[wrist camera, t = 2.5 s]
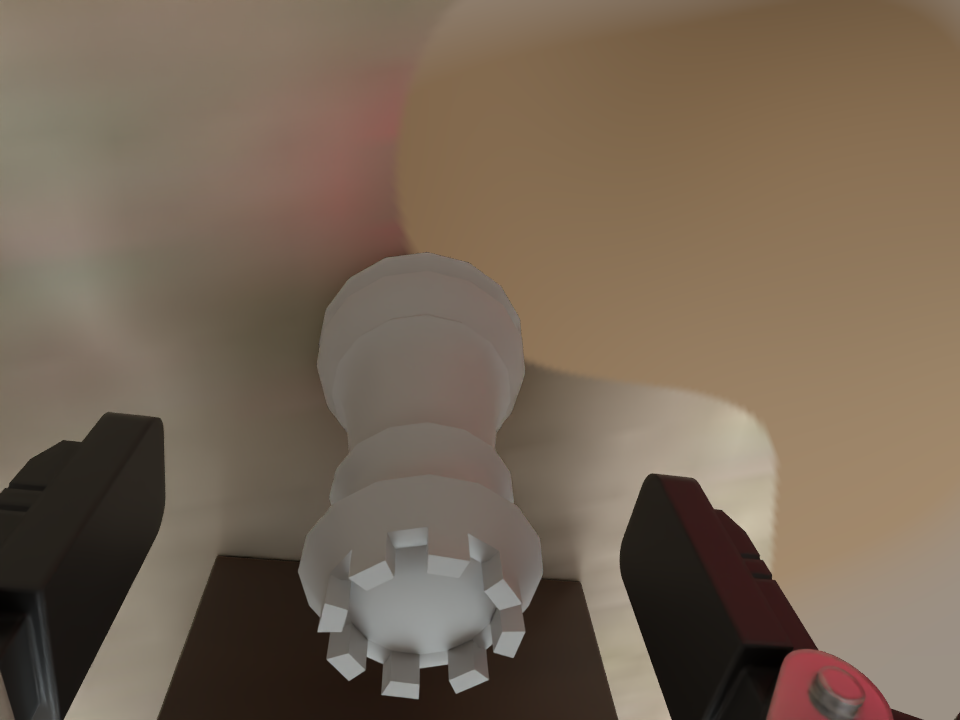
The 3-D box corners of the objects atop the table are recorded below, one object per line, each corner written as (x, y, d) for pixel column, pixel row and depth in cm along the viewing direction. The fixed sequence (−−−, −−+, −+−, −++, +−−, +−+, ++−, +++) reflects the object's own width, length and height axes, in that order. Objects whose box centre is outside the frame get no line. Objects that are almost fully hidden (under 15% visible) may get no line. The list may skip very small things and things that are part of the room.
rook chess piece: (542, 390, 16) (635, 693, 9) (367, 444, 16) (326, 776, 9) (487, 216, 14) (553, 435, 7) (287, 282, 14) (158, 555, 7)
